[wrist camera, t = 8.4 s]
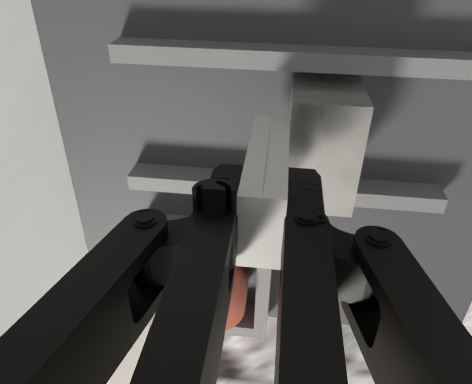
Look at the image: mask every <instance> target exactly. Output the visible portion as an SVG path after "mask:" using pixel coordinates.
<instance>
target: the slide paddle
mask: <svg viewBox="0 0 472 384" xmlns="http://www.w3.org/2000/svg"><path fill="white" fill-rule="evenodd" d="M373 109H374V106H373V104H372V102H371V100H370V98H369V95H368V93H367V91H366V89H365V87H364V84H363V82H362V80H361V78H360V76H355V75H334V74H313V73H292V85H291V96H290V108H289V115H290V137H289V167H292V168H307V169H315V170H316V171H317V172H318V173H319V175H320V176H321V181H322V190H323V191H322V192H323V200H324V210H325V215H326V216H338V217H350V218H352V214H353V209H354V204H355V199H356V194H357V189H358V184H359V179H360V174H361V169H362V164H363V159H364V154H365V149H366V144H367V139H368V134H369V129H370V124H371V119H372V114H373Z"/></svg>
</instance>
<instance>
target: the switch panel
mask: <svg viewBox="0 0 472 384" xmlns="http://www.w3.org/2000/svg"><path fill="white" fill-rule="evenodd" d="M31 4H32V8H33V13H34V17H35V21H36V26H37V30H38V34H39V39H40V43H41V47H42V52H43V56H44V61H45V65H46V69H47V74H48V78H49V82H50V87H51V91H52V95H53V100H54V104H55V109H56V113H57V117H58V122H59V126H60V130H61V135H62V139H63V143H64V148H65V152H66V156H67V161H68V165H69V170H70V174H71V178H72V183H73V187H74V191H75V196H76V200H77V204H78V209H79V213H80V217H81V222H82V226H83V231H84V235H85V239H86V244H87V248H88V252H89V251H90V250H91V249H92V248H93V247H95V246H96V245H97V244H98V243H99V242H100V241H101V240H102V239H103V238H104V237H105V236H106V235H107V234H108V233H109V232H110V231H111V230H112V229H113V228H114V227H115V226H116V225H117V224H118V223H119V222H120V221H122V220H123V219H124V218H125V217H126V216H127V215H129V214H130V213H131V212H134V211H137V210H140V209H157V210H159V211H161V212H163V213H164V214H165V215H166V217H167V220H174V219H181V218H185V217H188V216H190V215H192V212H193V200H192V187H193V186H194V184H195V183H197V182H199V181H201V180H205V179H210V178H211V174H212V172H213V169H215V168H216V167H217V166H218V165H220V164H235V165H244V162H245V157H246V153H247V148H248V144H249V139H250V135H251V130H252V126H253V122H254V117H255V114H273V115H289V108H290V96H291V85H292V73H313V74H334V75H355V76H360V78H361V80H362V82H363V84H364V87H365V89H366V91H367V93H368V95H369V98H370V100H371V102H372V104H373V106H374V109H373V114H372V119H371V124H370V129H369V134H368V139H367V144H366V149H365V154H364V159H363V164H362V169H361V174H360V179H359V184H358V189H357V194H356V199H355V204H354V209H353V214H352V218H350V217H338V216H327V217H328V219H329V221H330V224H331V225H332V226H334V227H336V228H337V229H339V230H342V231H345V232H348V233H351V234H355V233H356V230H358V229H359V228H361V227H364V226H369V225H370V226H380V227H384V228H387V229H389V230H391V231H393V232H395V233H396V234H397V235H398V236H399V237H400V238H401V239H402V240H403V242H404V243H405V245H406V246H407V247H408V249H409V250H410V252H411V253H412V254H413V256H414V257H415V259H416V260H417V261H418V263H419V264H420V265H421V267H422V268H423V270H424V271H425V272H426V274H427V275H428V277H429V278H430V279H431V281H432V282H433V283H434V285H435V286H436V288H437V289H438V290H439V292H440V293H441V295H442V296H443V297H444V299H445V300H446V302H447V303H448V304H449V306H450V307H451V308H452V310H453V311H454V313H455V314H456V315H457V317H458V318H459V320H460V321H461V322H463V319H464V317H465V315H466V313H467V311H468V308H469V306H470V304H471V302H472V0H31ZM279 280H280V270H274V269H264V268H253V267H250V275H249V283H248V290H247V298H246V305H245V313H244V316H243V318H242V320H241V321H240V322H239V323H238V324H237V325H236V326H235V327H233V328H231V329H229V330H227V331H225V334H226V335H235V336H245V337H254V338H263V339H266V331H267V318H268V316H270V317H278V290H279ZM338 301H339V309H340V318H341V324H347V325H350V324H349V322H348V320H347V318H346V315H345V313H344V311H343V308H342V305H341V300H339V299H338ZM154 316H155V314H154ZM154 316H153V317H152V319H151V320H150V321H149V323H148V325H149V326H151V324H152V321H153V319H154Z"/></svg>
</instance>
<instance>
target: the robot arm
mask: <svg viewBox="0 0 472 384" xmlns="http://www.w3.org/2000/svg"><path fill="white" fill-rule="evenodd" d="M289 137H290V115H273V114H255V117H254V122H253V126H252V130H251V135H250V139H249V144H248V148H247V153H246V157H245V162H244V165H235V164H220V165H218V166H217V167H216V168H215V169H213V172H212V174H211V178H210V179H205V180H201V181H199V182H197V183H195V184H194V186H193V187H192V200H193V212H192V215H190V216H188V217H185V218H181V219H174V220H167V217H166V215H165V214H164V213H163V212H161V211H159V210H157V209H140V210H137V211H134V212H131V213H130V214H129V215H127V216H126V217H125V218H124V219H123V220H122V221H120V222H119V223H118V224H117V225H116V226H115V227H114V228H113V229H112V230H111V231H110V232H109V233H108V234H107V235H106V236H105V237H104V238H103V239H102V240H101V241H100V242H99V243H98V244H97V245H96V246H95V247H93V248H92V249H91V250H90V251H89V252H88V253H87V254H86V255H85V256H84V257H83V258H82V259H81V260H80V261H79V262H78V263H77V264H76V265H75V266H74V267H73V268H72V269H71V270H70V271H69V272H68V273H66V274H65V275H64V276H63V277H62V278H61V279H60V280H59V281H58V282H57V283H56V284H55V285H54V286H53V287H52V288H51V289H50V290H49V291H48V292H47V293H46V294H45V295H44V296H43V297H42V298H41V299H39V300H38V301H37V302H36V303H35V304H34V305H33V306H32V307H31V308H30V309H29V310H28V311H27V312H26V313H25V314H24V315H23V316H22V317H21V318H20V319H19V320H18V321H17V322H16V323H15V324H13V325H12V326H11V327H10V328H9V329H8V330H7V331H6V332H5V333H4V334H3V335H2V336H1V337H0V384H106V383H107V382H108V380H109V379H110V377H111V376H112V375H113V373H114V372H115V370H116V369H117V367H118V366H119V365H120V363H121V362H122V360H123V359H124V357H125V356H126V354H127V353H128V352H129V350H130V349H131V347H132V346H133V344H134V343H135V342H136V340H137V339H138V337H139V336H140V334H141V333H142V331H143V330H144V329H145V327H146V326H147V324H148V323H149V321H150V320H151V319H152V317H153V316H154V314H155V316H154V319H153V321H152V324H151V327H150V330H149V332H148V335H147V338H146V341H145V343H144V346H143V349H142V352H141V354H140V357H139V360H138V362H137V365H136V368H135V371H134V373H133V376H132V379H131V382H130V384H216V380H217V375H218V369H219V363H220V358H221V352H222V346H223V340H224V335H225V329H226V323H227V317H228V312H229V306H230V300H231V295H232V289H233V283H234V277H235V261H236V266H242V267H253V268H264V269H274V270H280V280H279V290H278V318H277V338H276V358H275V378H274V384H348V380H347V372H346V363H345V354H344V345H343V336H342V327H341V318H340V309H339V301H338V299H339V300H341V305H342V308H343V311H344V313H345V315H346V318H347V320H348V322H349V324H350V327H351V329H352V331H353V334H354V336H355V338H356V341H357V343H358V345H359V348H360V350H361V352H362V355H363V357H364V359H365V361H366V364H367V366H368V368H369V371H370V373H371V375H372V378H373V380H374V382H375V384H472V336H471V335H470V333H469V332H468V331H467V329H466V328H465V326H464V325H463V324H462V322H461V321H460V320H459V318H458V317H457V315H456V314H455V313H454V311H453V310H452V308H451V307H450V306H449V304H448V303H447V302H446V300H445V299H444V297H443V296H442V295H441V293H440V292H439V290H438V289H437V288H436V286H435V285H434V283H433V282H432V281H431V279H430V278H429V277H428V275H427V274H426V272H425V271H424V270H423V268H422V267H421V265H420V264H419V263H418V261H417V260H416V259H415V257H414V256H413V254H412V253H411V252H410V250H409V249H408V247H407V246H406V245H405V243H404V242H403V240H402V239H401V238H400V237H399V236H398V235H397V234H396V233H395V232H393V231H391V230H389V229H387V228H384V227H380V226H370V225H369V226H364V227H361V228H359V229H358V230H356V233H355V234H351V233H348V232H345V231H342V230H339V229H337V228H336V227H334V226H332V225H331V224H330V221H329V219H328V217H327V216H326V215H325V210H324V200H323V192H322V191H323V190H322V181H321V176H320V175H319V173H318V172H317V171H316V170H315V169H307V168H292V167H289Z"/></svg>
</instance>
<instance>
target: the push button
mask: <svg viewBox="0 0 472 384" xmlns="http://www.w3.org/2000/svg"><path fill="white" fill-rule="evenodd" d="M249 275H250V267H242V266H236V261H235V277H234V283H233V289H232V295H231V300H230V306H229V312H228V317H227V323H226V329H225V331H227V330H229V329H231V328H233V327H235V326H236V325H237V324H238V323H239V322H240V321H241V320H242V318H243V316H244V313H245V305H246V298H247V290H248V283H249Z"/></svg>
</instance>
